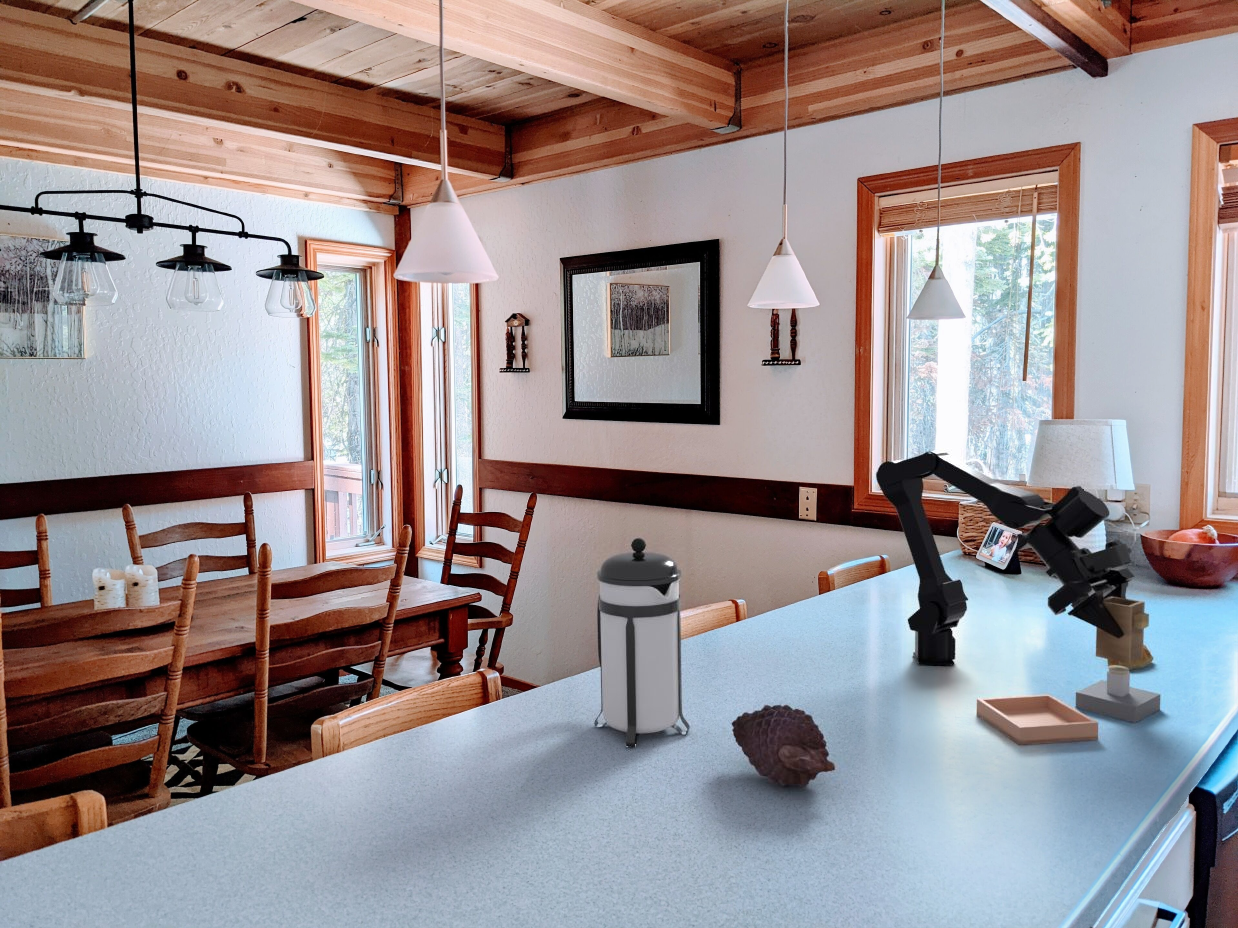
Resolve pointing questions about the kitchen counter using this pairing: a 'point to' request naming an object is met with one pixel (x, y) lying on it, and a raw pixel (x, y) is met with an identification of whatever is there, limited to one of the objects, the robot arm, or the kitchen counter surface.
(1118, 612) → the walnut sleeve
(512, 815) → the kitchen counter surface
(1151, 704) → the block
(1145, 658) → the pastry
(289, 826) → the kitchen counter surface
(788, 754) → the pine cone
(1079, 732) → the terracotta tray
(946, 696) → the kitchen counter surface
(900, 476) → the robot arm
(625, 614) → the coffee press
